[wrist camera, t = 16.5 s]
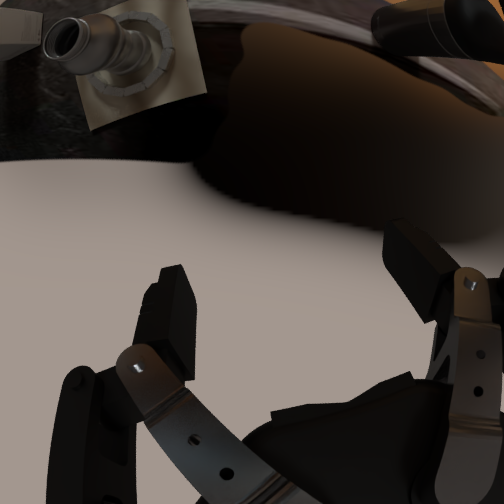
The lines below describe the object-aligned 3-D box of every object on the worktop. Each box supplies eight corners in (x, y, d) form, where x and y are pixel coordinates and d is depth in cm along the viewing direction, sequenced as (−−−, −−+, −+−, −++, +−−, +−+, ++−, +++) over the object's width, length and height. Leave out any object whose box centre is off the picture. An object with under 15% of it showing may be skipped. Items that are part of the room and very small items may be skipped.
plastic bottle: (164, 55, 30) (114, 33, 13) (124, 85, 31) (49, 94, 15) (140, 24, 27) (78, -14, 10) (102, 54, 28) (18, 46, 11)
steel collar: (165, 4, 25) (162, -1, 23) (182, 79, 32) (179, 78, 30) (84, 35, 26) (77, 33, 23) (101, 107, 32) (94, 109, 30)
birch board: (183, -15, 25) (182, -17, 24) (207, 92, 35) (206, 92, 34) (69, 30, 25) (66, 29, 24) (92, 129, 35) (90, 130, 34)
